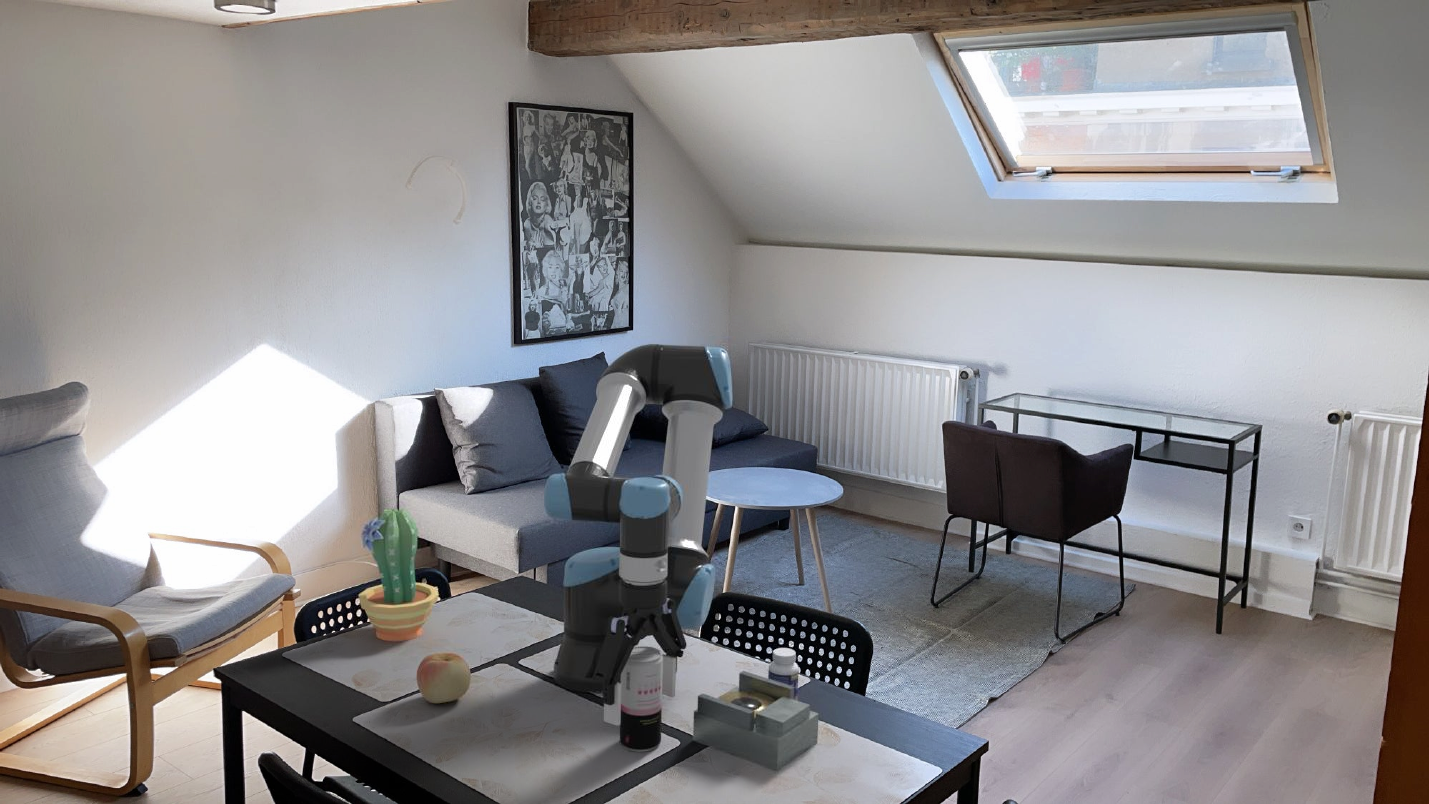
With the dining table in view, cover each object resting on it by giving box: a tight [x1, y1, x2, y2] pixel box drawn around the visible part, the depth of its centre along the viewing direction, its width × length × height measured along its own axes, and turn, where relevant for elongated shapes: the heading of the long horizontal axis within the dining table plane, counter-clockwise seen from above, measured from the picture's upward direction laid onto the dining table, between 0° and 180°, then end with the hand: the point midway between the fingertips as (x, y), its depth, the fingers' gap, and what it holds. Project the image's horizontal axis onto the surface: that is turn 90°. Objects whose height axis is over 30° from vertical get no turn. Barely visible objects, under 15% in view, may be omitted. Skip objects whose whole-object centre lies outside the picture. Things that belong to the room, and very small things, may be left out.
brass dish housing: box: [692, 670, 819, 772], centre depth 176 cm, size 16×13×8 cm
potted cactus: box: [358, 507, 440, 642], centre depth 217 cm, size 15×15×25 cm
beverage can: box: [619, 645, 663, 753], centre depth 174 cm, size 7×6×15 cm
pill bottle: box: [767, 647, 800, 701], centre depth 192 cm, size 5×5×9 cm
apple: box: [416, 652, 472, 704], centre depth 188 cm, size 9×9×8 cm
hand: (640, 708), depth 174 cm, fingers open, 13 cm apart
